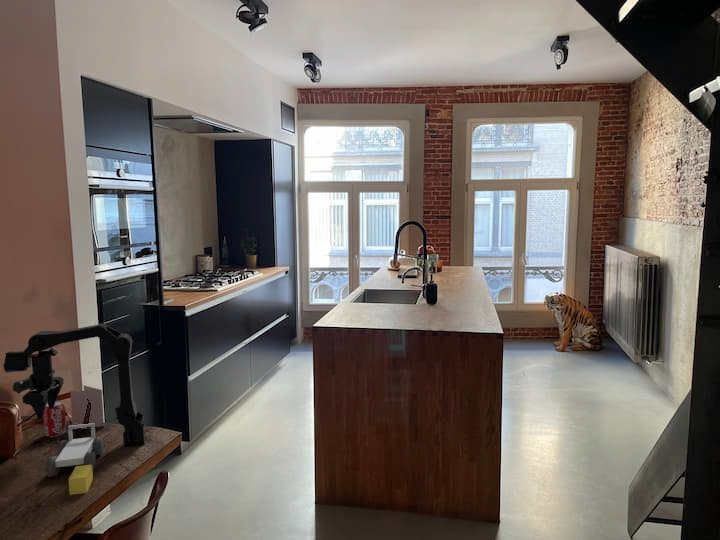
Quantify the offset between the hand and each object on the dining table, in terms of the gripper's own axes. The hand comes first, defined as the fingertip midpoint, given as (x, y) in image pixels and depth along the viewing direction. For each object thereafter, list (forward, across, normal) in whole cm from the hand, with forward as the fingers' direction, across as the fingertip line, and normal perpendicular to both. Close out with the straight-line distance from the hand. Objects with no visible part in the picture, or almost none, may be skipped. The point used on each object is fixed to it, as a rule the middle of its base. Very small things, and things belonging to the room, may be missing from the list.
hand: (45, 413), depth 174 cm
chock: (+15, +25, +18) cm, 34 cm away
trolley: (+14, +10, +12) cm, 21 cm away
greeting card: (+15, -22, +6) cm, 27 cm away
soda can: (+15, -17, -4) cm, 23 cm away
